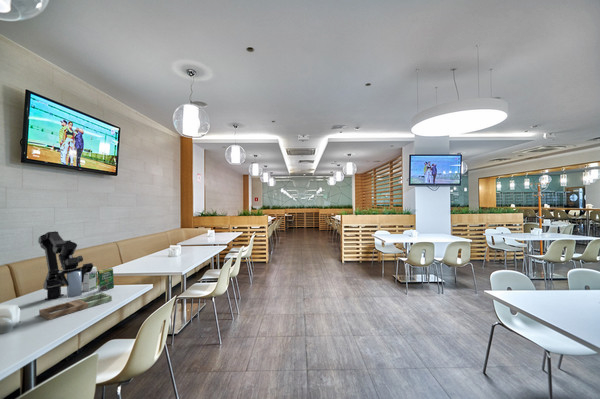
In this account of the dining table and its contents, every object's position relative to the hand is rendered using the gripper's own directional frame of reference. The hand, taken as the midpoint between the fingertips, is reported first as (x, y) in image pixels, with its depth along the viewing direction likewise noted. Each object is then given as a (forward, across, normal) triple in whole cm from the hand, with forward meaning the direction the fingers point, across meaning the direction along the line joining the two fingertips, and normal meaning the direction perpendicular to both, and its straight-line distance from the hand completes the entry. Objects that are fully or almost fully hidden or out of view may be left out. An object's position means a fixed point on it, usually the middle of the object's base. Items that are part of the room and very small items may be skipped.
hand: (75, 283), depth 138 cm
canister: (+4, 0, +6) cm, 7 cm away
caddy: (+9, +1, +10) cm, 13 cm away
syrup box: (-13, +17, +32) cm, 39 cm away
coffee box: (-6, +22, +25) cm, 34 cm away
